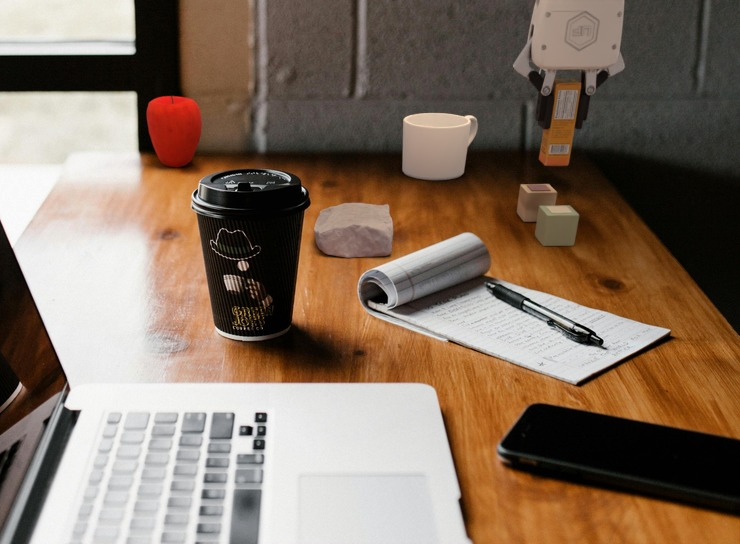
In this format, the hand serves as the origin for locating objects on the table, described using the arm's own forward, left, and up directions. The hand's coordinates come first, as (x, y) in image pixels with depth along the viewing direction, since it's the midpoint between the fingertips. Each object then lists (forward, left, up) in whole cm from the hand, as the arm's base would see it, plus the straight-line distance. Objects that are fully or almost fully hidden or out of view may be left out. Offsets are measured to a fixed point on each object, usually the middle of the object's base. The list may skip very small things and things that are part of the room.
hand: (559, 125), depth 108 cm
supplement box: (0, 0, -5) cm, 5 cm away
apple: (+52, -35, -14) cm, 64 cm away
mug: (+9, -29, -14) cm, 33 cm away
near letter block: (0, +5, -13) cm, 14 cm away
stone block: (+26, +4, -14) cm, 30 cm away
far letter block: (0, -5, -13) cm, 14 cm away
